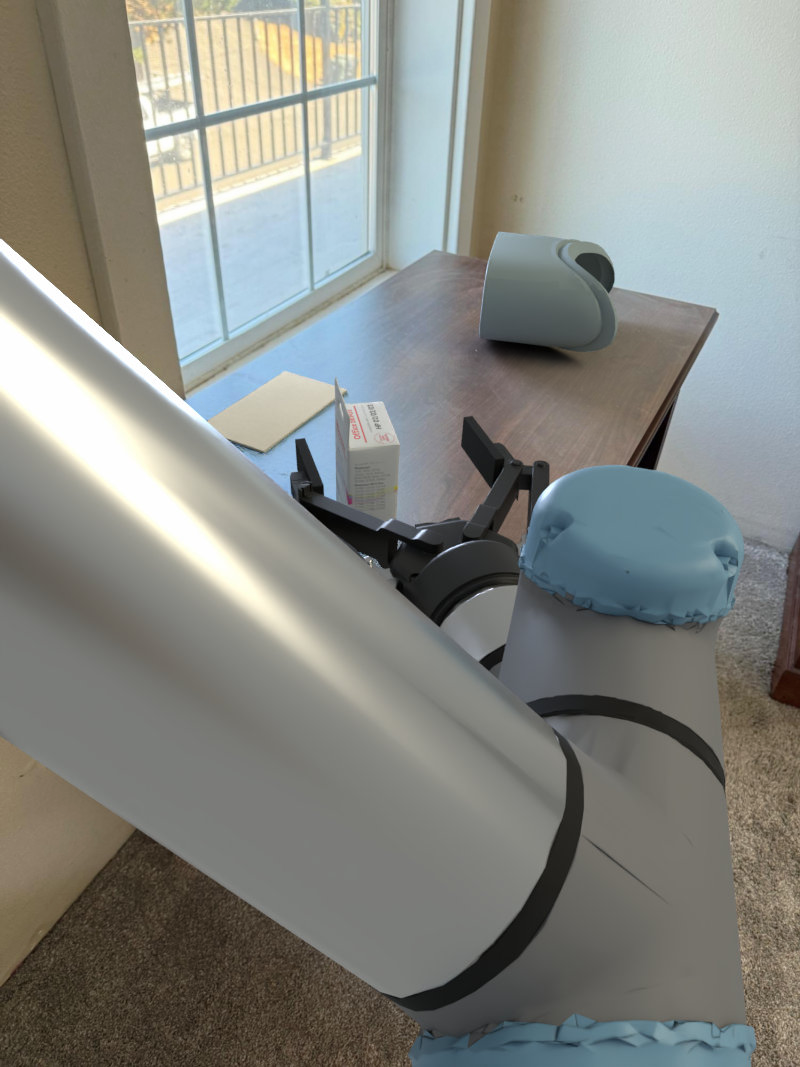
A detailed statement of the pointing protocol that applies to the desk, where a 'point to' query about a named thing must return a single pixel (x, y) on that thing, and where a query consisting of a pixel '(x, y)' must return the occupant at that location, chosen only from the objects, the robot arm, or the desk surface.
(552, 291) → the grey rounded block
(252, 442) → the mat
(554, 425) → the desk surface
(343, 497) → the ink box
